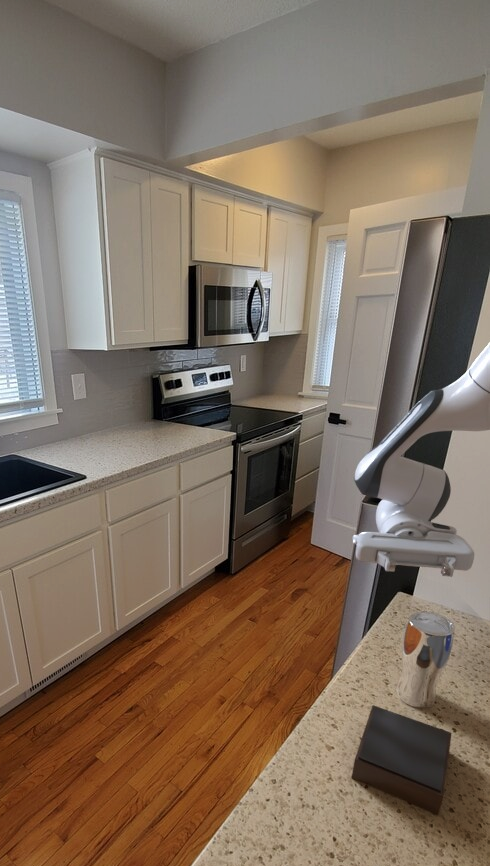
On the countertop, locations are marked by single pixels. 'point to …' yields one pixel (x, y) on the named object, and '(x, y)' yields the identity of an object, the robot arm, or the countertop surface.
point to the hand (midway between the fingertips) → (419, 570)
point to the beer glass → (424, 657)
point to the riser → (403, 758)
